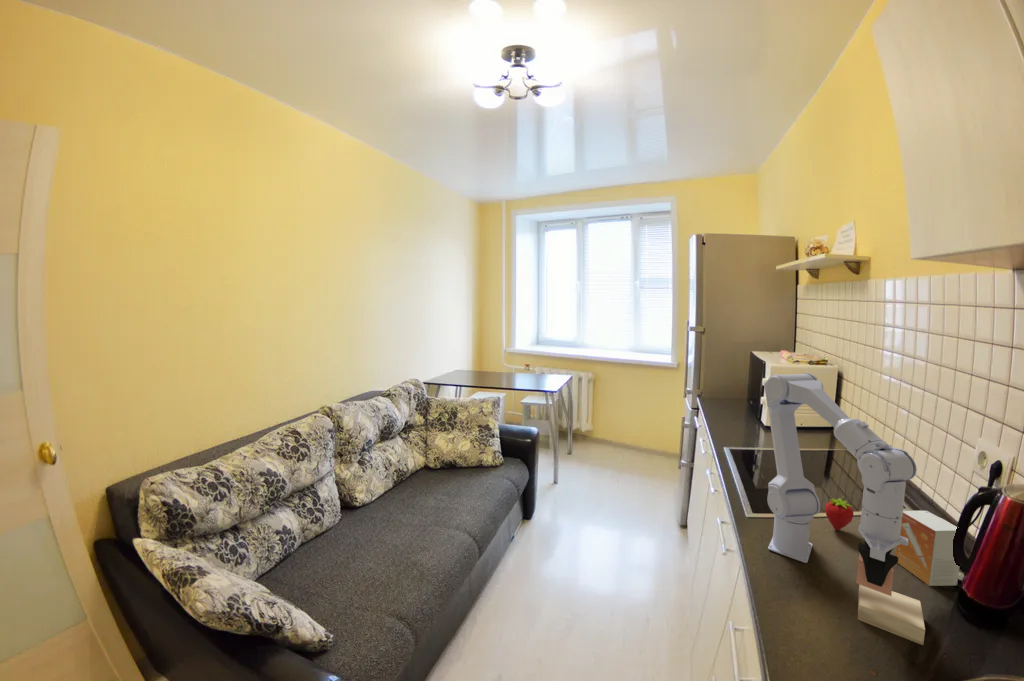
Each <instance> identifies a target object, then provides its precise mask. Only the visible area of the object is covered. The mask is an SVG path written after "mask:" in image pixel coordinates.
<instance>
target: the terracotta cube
mask: <svg viewBox="0 0 1024 681" xmlns="http://www.w3.org/2000/svg"><path fill="white" fill-rule="evenodd" d="M857 560H858V562H857V572H856V584H858V586H859V585H862V586H865V587H868V588H870V589H873V590H876V591H878V592H881V593H884V594H886V595H889V596H891V594H892V591H893V582H894V573H895V566H893V567H892V568H891V569H890V571H889V572H888V574H887V577H886V579H885V582H884V584H883V585H882V587H880V586H877V585H875V584H872V583H869V582H867V579H866V573H865V566H864V562H863V559H862V557H861V555H860V553H859V552H858V559H857Z"/></svg>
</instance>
